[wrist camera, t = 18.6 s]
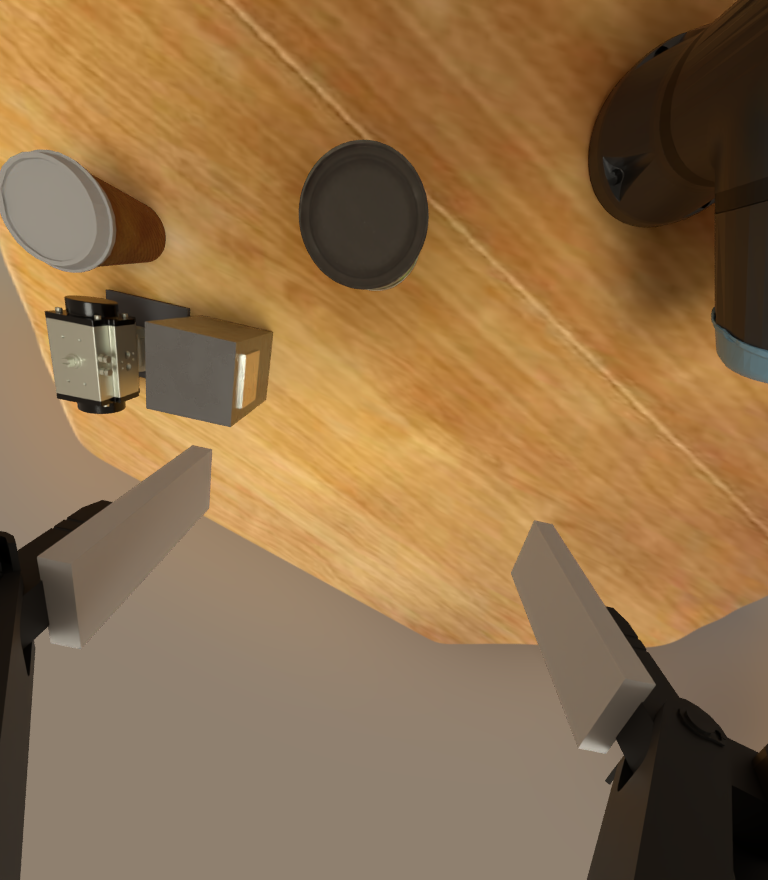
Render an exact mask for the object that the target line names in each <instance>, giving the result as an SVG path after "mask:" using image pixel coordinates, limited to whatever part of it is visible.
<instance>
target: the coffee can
mask: <svg viewBox="0 0 768 880" xmlns="http://www.w3.org/2000/svg"><path fill="white" fill-rule="evenodd" d="M428 219H429V216H428V203H427V197H426V193H425V190H424V186H423V184H422V181H421V179H420V177H419V175H418V174H417V172H416V170H415V169H414V167H413V166H412V165H411V163H410V162H409V161H408V160H407V159H406V158H405V157H404V156H403V155H402V154H400V153H399V152H398V151H396V150H395V149H393V148H392V147H390V146H388V145H386V144H383V143H380V142H377V141H371V140H355V141H350V142H346V143H343V144H341V145H339V146H336V147H335V148H333V149H331V150H330V151H329V152H327V153H326V154H325V155H324V156H322V157H321V158H320V159H319V160H318V162H317V163H316V164H315V165H314V167H313V168H312V170H311V171H310V173H309V175H308V177H307V179H306V181H305V183H304V186H303V189H302V192H301V197H300V203H299V224H300V231H301V235H302V238H303V241H304V244H305V247H306V249H307V251H308V253H309V255H310V256H311V258H312V260H313V261H314V263H315V264H316V265H317V266H318V267H319V269H320V270H321V271H322V272H323V273H324V274H325V275H327V276H328V277H329V278H331V279H332V280H334V281H335V282H337V283H339V284H342V285H344V286H347V287H350V288H354V289H363V290H371V291H381V290H386V289H390V288H392V287H394V286H396V285H398V284H399V283H401V282H402V281H403V280H404V279H405V278H406V277H407V276H408V275H409V274H410V272H411V271H412V269H413V268H414V266H415V264H416V262H417V259H418V256H419V253H420V251H421V249H422V247H423V244H424V241H425V238H426V234H427V228H428Z"/></svg>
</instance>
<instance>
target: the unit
mask: <svg viewBox="0 0 768 880" xmlns="http://www.w3.org/2000/svg"><path fill="white" fill-rule="evenodd" d="M272 338H273V332H271V331H267V330H262V329H258V328H254V327H249V326H245V325H241V324H236V323H232V322H228V321H224V320H219V319H215V318H211V317H206V316H192V317H183V318H173V319H164V320H154V321H145V363H146V408H147V409H152V410H156V411H160V412H165V413H169V414H174V415H178V416H183V417H187V418H192V419H196V420H201V421H205V422H210V423H214V424H219V425H223V426H228V427H231V426H233V425H234V424H235V423H236V422H238V421H239V420H240V419H242V418H243V417H244V416H246V415H247V414H248V413H249V412H251V411H252V410H253V409H255V408H256V407H257V406H259V405H260V404H261V403H263V402H264V401H265V400H266V395H267V386H268V376H269V367H270V357H271V348H272Z"/></svg>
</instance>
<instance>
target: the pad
mask: <svg viewBox="0 0 768 880" xmlns="http://www.w3.org/2000/svg"><path fill="white" fill-rule="evenodd" d="M106 299H108V300H112V301H115V302H117V303H118V308H119V314H122V313H126V314H128V316H133V317H136V326H141V327H144V328H145V321H154V320H164V319H173V318H183V317H190V308H186V307H181V306H177V305H173V304H168V303H164V302H160V301H155V300H151V299H147V298H143V297H138V296H134V295H130V294H125V293H121V292H117V291H112V290H106ZM139 376H140V377H144V378H146V371H143V372H139Z"/></svg>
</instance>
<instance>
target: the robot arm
mask: <svg viewBox="0 0 768 880" xmlns="http://www.w3.org/2000/svg"><path fill="white" fill-rule="evenodd" d="M589 172H590V178H591V182H592V186H593V189H594V191H595V194H596V196H597V198H598V200H599V201H600V203H601V204H602V206H603V207H604V208H605V209H606V210H607V211H608V212H609V213H610V214H611V215H612V216H613V217H615V218H616V219H618V220H620V221H622V222H624V223H626V224H629V225H633V226H638V227H656V226H661V225H666V224H669V223H673V222H677V221H680V220H683V219H686V218H688V217H691V216H693V215H695V214H697V213H699V212H701V211H702V210H704V209H706V208H707V207H709V206H710V205H712V204H713V203H715V307H714V308H713V309H712V313H711V320H712V323H713V326H714V328H715V336H716V350H717V354H718V356H719V357H720V358H721V360H722V362H723V363H724V364H725V365H726V366H727V367H728V368H729V369H731V370H732V371H734V372H736V373H738V374H740V375H742V376H744V377H747V378H750V379H753V380H756V381H760V382H764V383H768V0H738V1H737V2H736V3H734V4H733V5H732V6H731V7H730V8H729V9H728V10H727V11H725V12H724V13H723V14H722V15H721V16H720V17H719V18H718V19H716V20H715V21H714V22H713V23H711V24H708V25H705V26H702V27H699V28H696V29H694V30H691V31H688V32H686V33H683V34H680V35H678V36H675V37H673V38H671V39H669V40H667V41H666V42H664V43H662V44H661V45H659V46H658V47H656V48H655V49H653V50H652V51H651V52H649V53H648V54H647V55H646V56H644V57H643V58H642V59H641V60H640V61H639V62H638V63H637V64H636V65H635V66H634V67H633V68H632V69H631V70H630V71H629V72H628V73H627V74H626V75H625V76H624V77H623V78H622V79H621V80H620V81H619V83H618V84H617V85H616V86H615V88H614V89H613V90H612V92H611V93H610V95H609V96H608V98H607V100H606V101H605V103H604V105H603V107H602V109H601V111H600V113H599V115H598V118H597V121H596V123H595V126H594V129H593V133H592V137H591V142H590V149H589ZM211 462H212V449H208V448H203V447H199V446H194V445H192V446H191V447H190V448H188V449H187V450H185V451H184V452H183V453H181V454H180V455H178V456H177V457H176V458H174V459H173V460H171V461H170V462H169V463H167V464H166V465H164V466H163V467H162V468H160V469H159V470H157V471H156V472H155V473H153V474H152V475H150V476H149V477H148V478H146V479H145V480H143V481H142V482H141V483H139V484H138V485H137V486H135V487H134V488H132V489H131V490H129V491H128V492H127V493H125V494H124V495H123V496H121V497H120V498H118V499H117V500H116V501H114V502H109V501H104V500H101V501H99V502H96V503H93V504H91V505H88V506H85V507H83V508H81V509H79V510H78V511H77V512H75V513H74V514H72V515H71V516H69V517H67V520H63V521H62V522H60V523H58V524H57V525H55V526H54V528H53V529H52V528H51V529H50V530H48V531H47V532H45V533H43V534H42V535H40V536H39V537H37V538H36V539H34V540H33V541H32V542H30V543H28V544H27V545H25V546H24V547H22V548H21V549H19V550H18V551H17V547H16V542H15V539H14V536H13V535H11V534H9V533H7V532H2V531H0V880H20V871H21V857H22V842H23V827H24V810H25V796H26V781H27V766H28V751H29V736H30V720H31V705H32V689H33V675H34V660H35V645H34V639H35V638H36V637H37V636H38V635H39V634H40V633H42V632H43V631H44V630H45V629H46V628H47V627H48V629H49V635H50V641H51V643H53V644H58V645H63V646H68V647H73V648H78V649H82V648H83V647H84V645H85V644H86V643H87V642H88V641H89V640H90V639H91V638H92V637H93V636H94V635H95V633H96V632H97V631H98V630H99V629H100V628H101V627H102V626H103V625H104V624H105V622H106V621H107V620H108V619H109V618H110V617H111V616H112V615H113V613H115V611H116V610H117V609H118V608H119V607H120V606H121V605H122V604H123V603H124V601H125V600H126V599H127V598H128V597H129V596H130V595H131V594H132V593H133V592H134V591H135V589H136V588H137V587H138V586H139V585H140V584H141V583H142V582H143V581H144V580H145V578H146V577H147V576H148V575H149V574H150V573H151V572H152V571H153V569H155V567H156V566H157V565H158V564H159V563H160V562H161V561H162V560H163V559H164V557H165V556H166V555H167V554H168V553H169V552H170V551H171V550H172V549H173V547H175V545H176V544H177V543H178V542H179V541H180V540H181V539H182V538H183V537H184V536H185V534H186V533H187V532H188V531H189V530H190V529H191V528H192V527H193V526H194V524H195V523H196V522H197V521H198V520H199V519H200V518H201V517H202V516H203V515H204V513H205V512H206V511H207V510H208V509H209V501H210V482H211ZM511 575H512V577H513V580H514V582H515V585H516V588H517V590H518V593H519V596H520V598H521V601H522V603H523V606H524V609H525V611H526V614H527V616H528V619H529V622H530V624H531V627H532V629H533V632H534V635H535V637H536V640H537V642H538V645H539V647H540V650H541V653H542V655H543V658H544V660H545V663H546V666H547V668H548V671H549V673H550V676H551V679H552V681H553V684H554V687H555V689H556V692H557V694H558V697H559V700H560V702H561V705H562V708H563V710H564V713H565V715H566V718H567V720H568V723H569V726H570V728H571V731H572V734H573V736H574V739H575V741H576V744H577V747H578V748H580V749H585V750H590V751H595V752H600V753H607V751H608V750H609V748H610V747H611V746H612V744H613V743H614V742H615V740H617V742H618V744H619V746H620V748H621V750H622V752H623V754H624V756H623V757H622V759H621V760H620V762H619V763H618V764H617V765H616V767H615V768H614V769H613V771H612V772H611V773H610V775H609V776H608V777H607V779H606V780H605V781H606V782H607V783H608V784H611V782H612V781H613V784H612V788H611V792H610V796H609V799H608V803H607V807H606V810H605V814H604V818H603V821H602V825H601V829H600V833H599V836H598V840H597V844H596V848H595V851H594V855H593V859H592V863H591V866H590V870H589V874H588V878H587V880H768V744H767V745H766V746H765V747H764V748H763V749H762V750H761V751H760V752H759V753H758V752H756V751H754V750H752V749H750V748H748V747H745V746H744V745H741V744H739V743H737V742H735V741H733V740H731V739H729V738H727V736H726V735H725V733H724V732H723V730H722V729H721V727H720V726H719V725H718V724H717V723H716V722H715V721H714V720H713V719H712V718H711V717H710V716H709V715H708V714H707V713H706V712H704V711H703V710H702V709H701V708H699V707H698V706H696V705H695V704H693V703H691V702H689V701H688V700H686V699H682V698H679V696H678V695H677V693H676V692H675V690H674V689H673V688H672V686H671V685H670V683H669V682H668V680H667V679H666V677H665V676H664V674H663V673H662V671H661V670H660V668H659V667H658V666H657V664H656V663H655V661H654V660H653V658H652V657H651V655H650V654H649V653H648V652H646V648H645V646H644V645H643V644H642V642H641V641H640V640H638V636H637V635H636V633H635V632H634V630H633V629H632V627H631V626H630V625H629V623H628V622H627V621H626V620H625V619H624V618H623V617H622V616H621V615H620V614H619V613H618V612H617V611H616V610H615V609H614V608H611V607H606V606H605V605H604V603H603V602H602V600H601V599H600V597H599V596H598V594H597V593H596V591H595V590H594V588H593V586H592V585H591V583H590V582H589V580H588V579H587V577H586V576H585V574H584V572H583V571H582V569H581V568H580V566H579V565H578V563H577V562H576V560H575V559H574V557H573V555H572V554H571V552H570V551H569V549H568V548H567V546H566V545H565V543H564V542H563V540H562V538H561V537H560V535H559V534H558V532H557V531H556V529H555V528H554V526H553V524H548V523H544V522H539V521H535V520H534V522H533V524H532V527H531V529H530V531H529V533H528V536H527V538H526V540H525V542H524V545H523V547H522V549H521V551H520V554H519V556H518V558H517V561H516V563H515V565H514V567H513V570H512V572H511Z"/></svg>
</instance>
